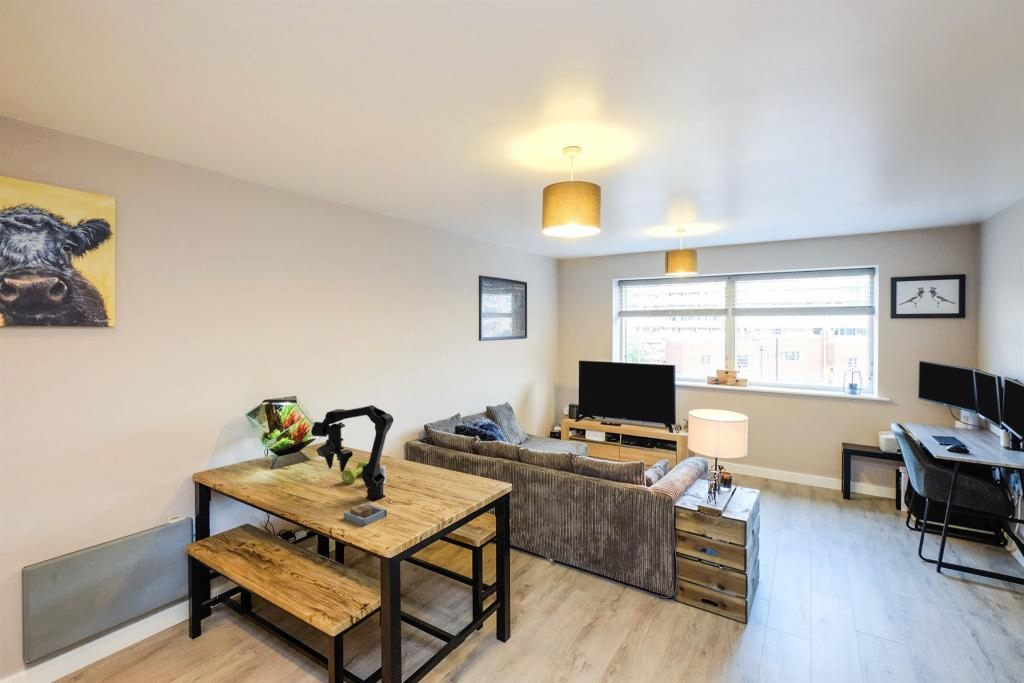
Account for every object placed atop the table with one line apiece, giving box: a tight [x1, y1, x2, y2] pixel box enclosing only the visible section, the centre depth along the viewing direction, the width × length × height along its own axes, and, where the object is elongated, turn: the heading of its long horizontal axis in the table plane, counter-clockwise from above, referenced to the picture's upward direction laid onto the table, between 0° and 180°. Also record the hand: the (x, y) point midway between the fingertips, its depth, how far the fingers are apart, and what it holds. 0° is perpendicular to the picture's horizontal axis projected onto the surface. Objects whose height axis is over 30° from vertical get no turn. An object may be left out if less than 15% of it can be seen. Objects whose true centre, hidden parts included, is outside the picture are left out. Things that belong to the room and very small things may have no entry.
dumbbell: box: [340, 460, 369, 485], centre depth 239 cm, size 16×8×7 cm, turn 163°
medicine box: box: [380, 465, 387, 486], centre depth 231 cm, size 8×4×9 cm, turn 92°
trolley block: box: [349, 503, 373, 518], centre depth 193 cm, size 6×7×4 cm
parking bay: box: [343, 503, 388, 527], centre depth 192 cm, size 11×13×2 cm
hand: (336, 469), depth 216 cm, fingers open, 9 cm apart
